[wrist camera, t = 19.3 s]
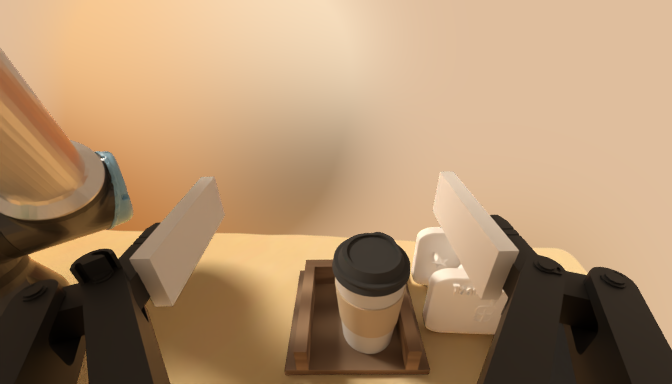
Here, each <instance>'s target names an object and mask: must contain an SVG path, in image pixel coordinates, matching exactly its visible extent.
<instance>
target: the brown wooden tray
mask: <svg viewBox="0 0 672 384" xmlns="http://www.w3.org/2000/svg"><path fill="white" fill-rule="evenodd" d="M332 263H333V260H306V266H305V271H300V276H299V283H298V289H297V295H296V302H295V308H294V314H293V321H292V327H291V333H290V340H289V346H288V352H287V359H286V365H285V374H286V375H310V374H429V371H430V368H429V365H428V361H427V357H426V353H425V350H424V346H423V342H422V338H421V335H420V331H419V327H418V323H417V320H416V316H415V312H414V309H413V305H412V301H411V297H410V294H409V290H408V286H407V283H406V290H405V294H404V297H403V301H402V305H401V309H400V312H399V316H398V320H397V323H396V325H395V327H394V330H393V334H392V338H391V341H390V343H389V345H388V346H387V347H386V348H385V349H384V350H382V351H381V352H378V353H375V354H365V353H361V352H359V351H357V350H355V349H354V348H352V347H351V346H350V345H349V344H348V342H347V341H346V339H345V337H344V334H343V327H342V320H341V317H340V313H339V307H338V300H337V293H336V287H335V276H334V273H333V269H332Z"/></svg>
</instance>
